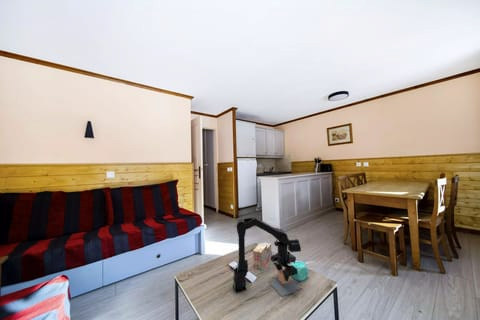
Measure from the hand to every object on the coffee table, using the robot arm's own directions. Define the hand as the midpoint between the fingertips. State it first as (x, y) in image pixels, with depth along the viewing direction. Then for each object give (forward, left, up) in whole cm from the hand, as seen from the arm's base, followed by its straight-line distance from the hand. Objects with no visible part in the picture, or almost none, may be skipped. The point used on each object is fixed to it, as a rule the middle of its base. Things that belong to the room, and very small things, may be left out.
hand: (283, 278), depth 104 cm
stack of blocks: (+2, +28, -4) cm, 28 cm away
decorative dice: (+13, +2, -4) cm, 14 cm away
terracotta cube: (0, 0, -1) cm, 1 cm away
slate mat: (0, 0, -4) cm, 4 cm away
